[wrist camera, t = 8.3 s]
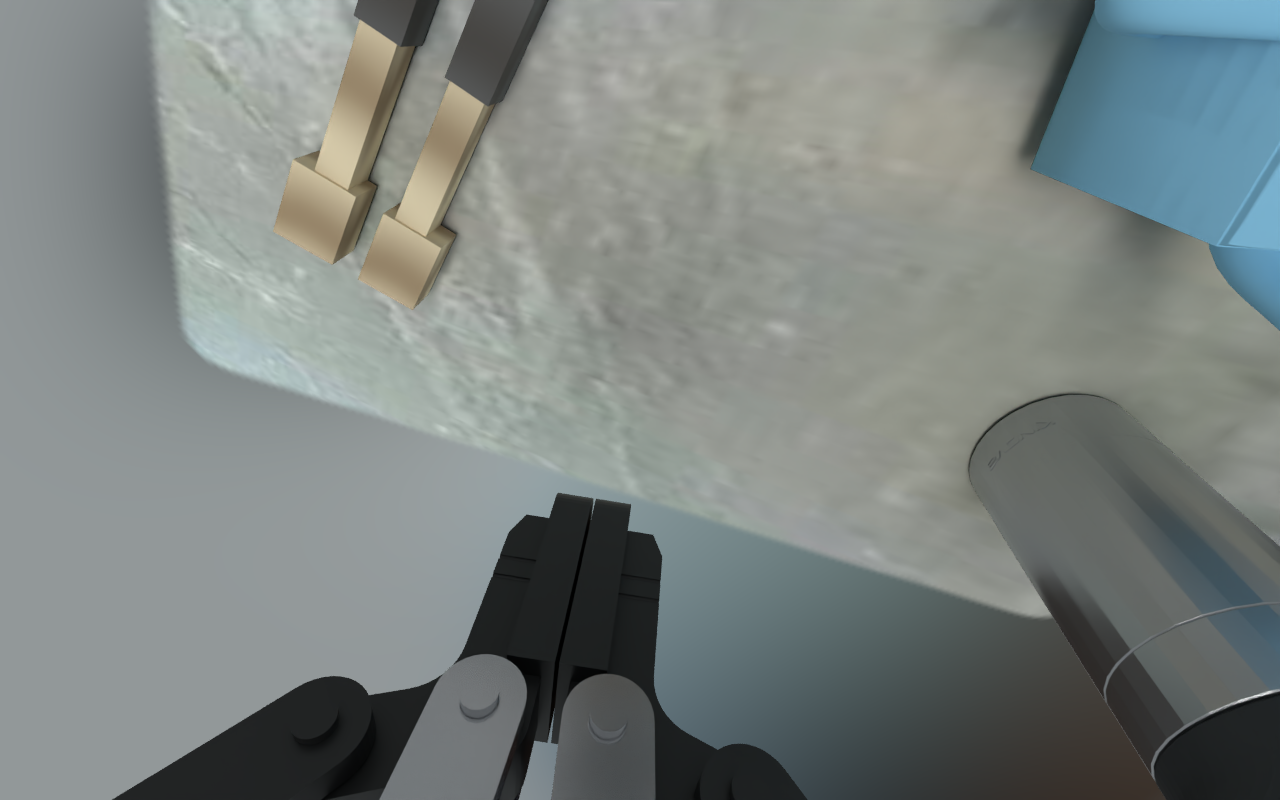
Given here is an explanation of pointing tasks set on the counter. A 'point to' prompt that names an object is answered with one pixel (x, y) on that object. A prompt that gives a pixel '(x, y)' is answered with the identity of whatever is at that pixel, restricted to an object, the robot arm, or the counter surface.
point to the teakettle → (1181, 127)
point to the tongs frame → (353, 131)
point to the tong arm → (449, 149)
